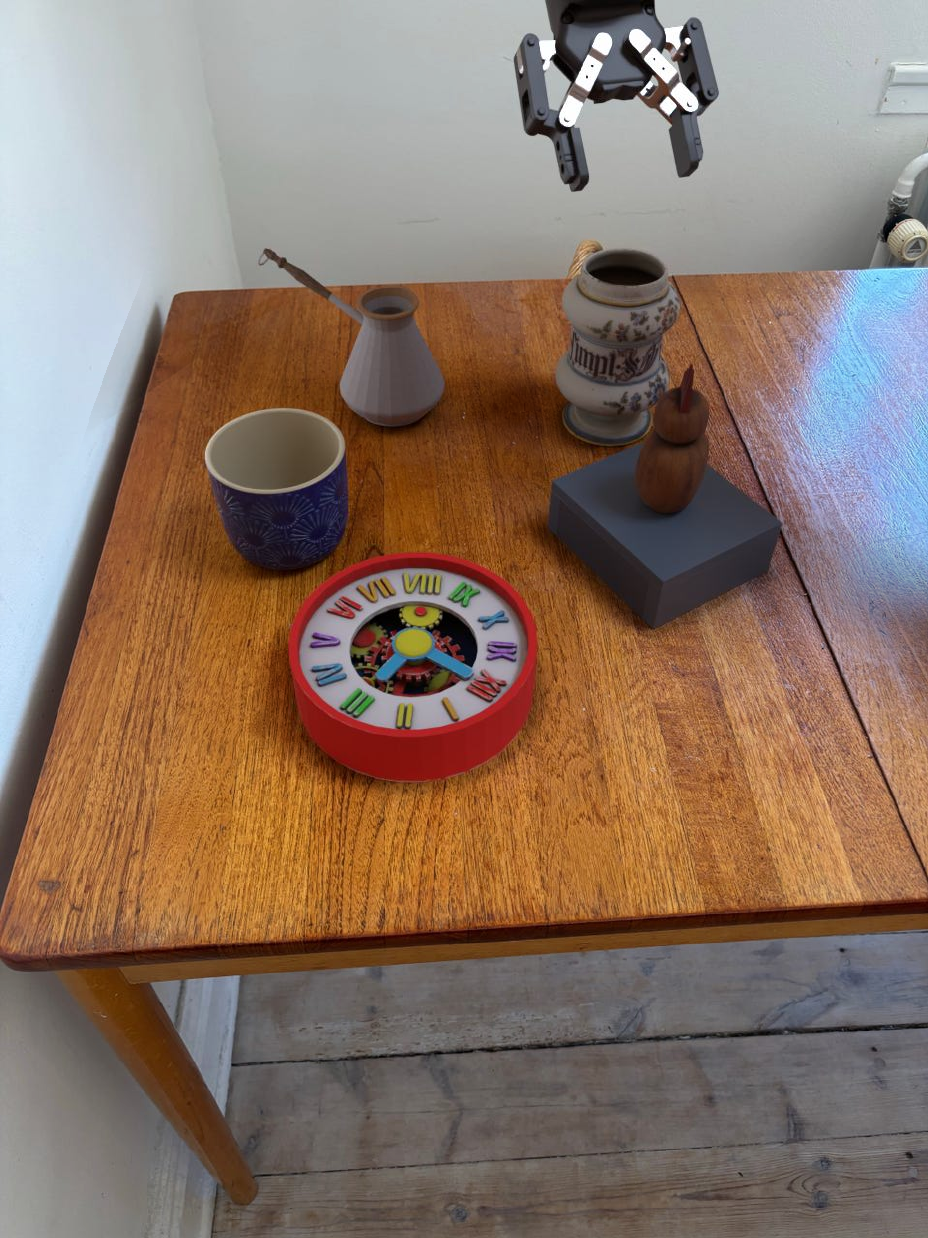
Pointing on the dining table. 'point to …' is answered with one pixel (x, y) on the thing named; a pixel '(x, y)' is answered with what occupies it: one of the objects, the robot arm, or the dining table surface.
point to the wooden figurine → (674, 449)
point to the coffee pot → (383, 354)
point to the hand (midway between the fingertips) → (635, 179)
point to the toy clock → (413, 666)
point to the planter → (280, 486)
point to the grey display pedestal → (661, 537)
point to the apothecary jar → (616, 345)
